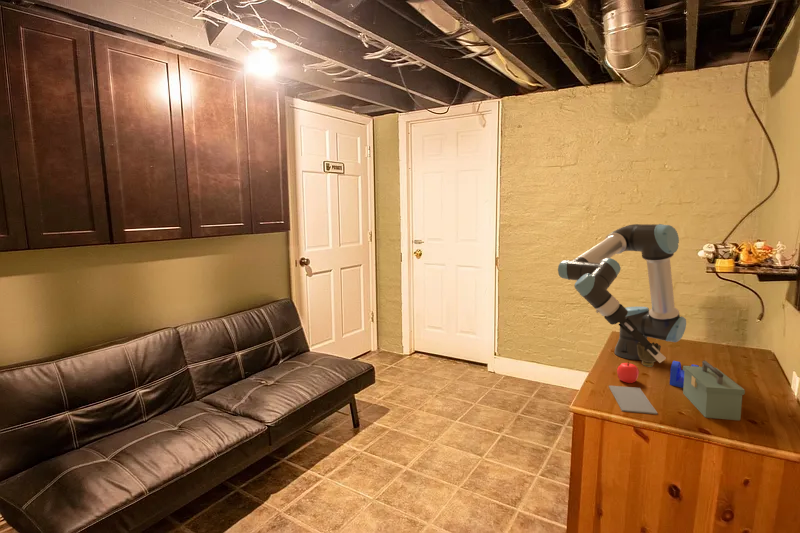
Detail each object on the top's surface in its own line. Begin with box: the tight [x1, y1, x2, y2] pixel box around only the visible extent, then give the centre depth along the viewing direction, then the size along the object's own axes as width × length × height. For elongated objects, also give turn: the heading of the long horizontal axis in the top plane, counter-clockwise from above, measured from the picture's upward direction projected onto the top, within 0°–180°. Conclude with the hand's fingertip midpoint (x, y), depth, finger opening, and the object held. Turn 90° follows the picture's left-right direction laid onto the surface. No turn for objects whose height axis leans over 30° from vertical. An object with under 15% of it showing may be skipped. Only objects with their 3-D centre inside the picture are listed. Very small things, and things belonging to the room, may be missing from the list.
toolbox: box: [682, 360, 746, 421], centre depth 153 cm, size 21×11×14 cm, turn 166°
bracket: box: [669, 360, 700, 389], centre depth 176 cm, size 18×8×9 cm, turn 136°
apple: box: [616, 361, 640, 384], centre depth 178 cm, size 8×8×8 cm
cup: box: [637, 342, 662, 368], centre depth 157 cm, size 8×7×8 cm
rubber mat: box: [608, 385, 659, 415], centre depth 161 cm, size 22×11×1 cm, turn 166°
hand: (658, 356), depth 156 cm, fingers closed on cup, 7 cm apart
